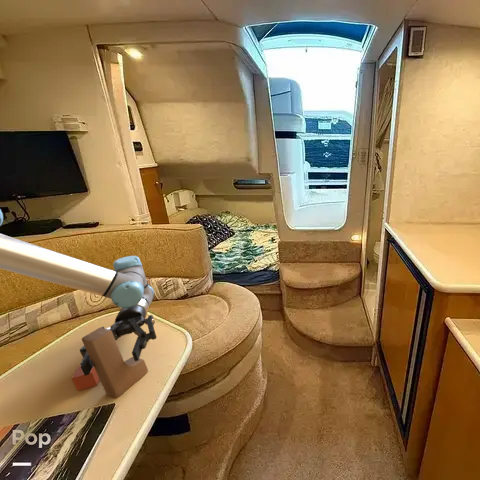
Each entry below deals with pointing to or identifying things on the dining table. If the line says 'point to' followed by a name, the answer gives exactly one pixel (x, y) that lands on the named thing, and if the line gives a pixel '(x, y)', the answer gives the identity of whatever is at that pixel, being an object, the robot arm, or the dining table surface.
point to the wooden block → (112, 362)
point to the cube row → (85, 378)
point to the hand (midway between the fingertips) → (110, 363)
